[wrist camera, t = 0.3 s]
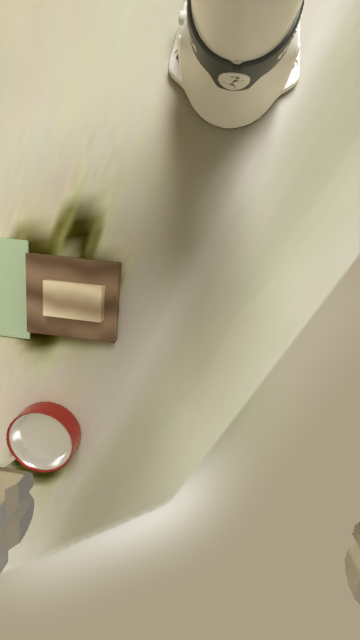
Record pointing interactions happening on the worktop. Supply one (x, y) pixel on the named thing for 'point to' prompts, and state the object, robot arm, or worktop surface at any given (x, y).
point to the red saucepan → (43, 437)
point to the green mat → (13, 288)
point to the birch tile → (73, 300)
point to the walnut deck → (77, 272)
